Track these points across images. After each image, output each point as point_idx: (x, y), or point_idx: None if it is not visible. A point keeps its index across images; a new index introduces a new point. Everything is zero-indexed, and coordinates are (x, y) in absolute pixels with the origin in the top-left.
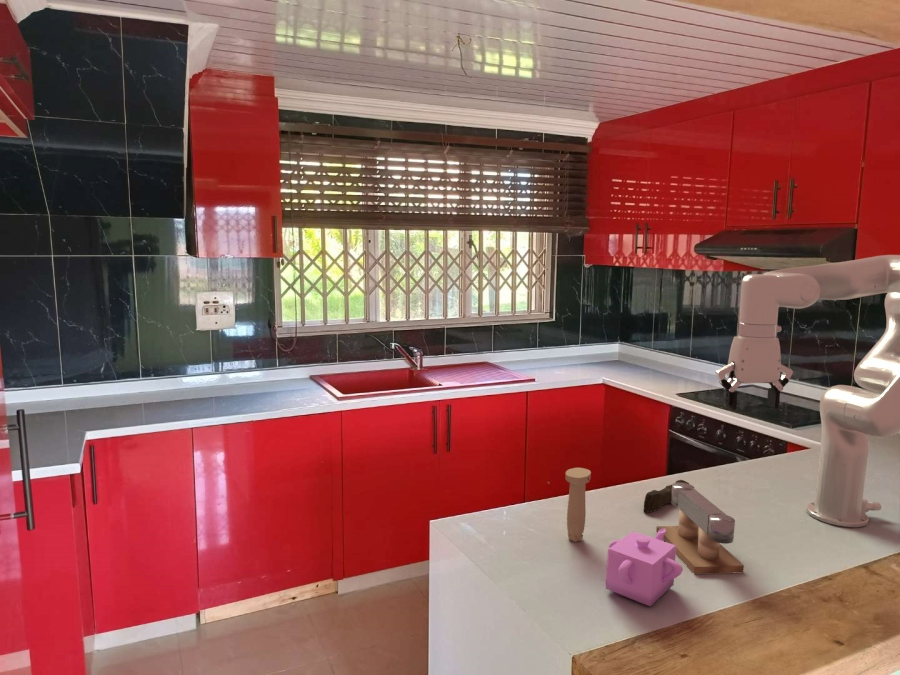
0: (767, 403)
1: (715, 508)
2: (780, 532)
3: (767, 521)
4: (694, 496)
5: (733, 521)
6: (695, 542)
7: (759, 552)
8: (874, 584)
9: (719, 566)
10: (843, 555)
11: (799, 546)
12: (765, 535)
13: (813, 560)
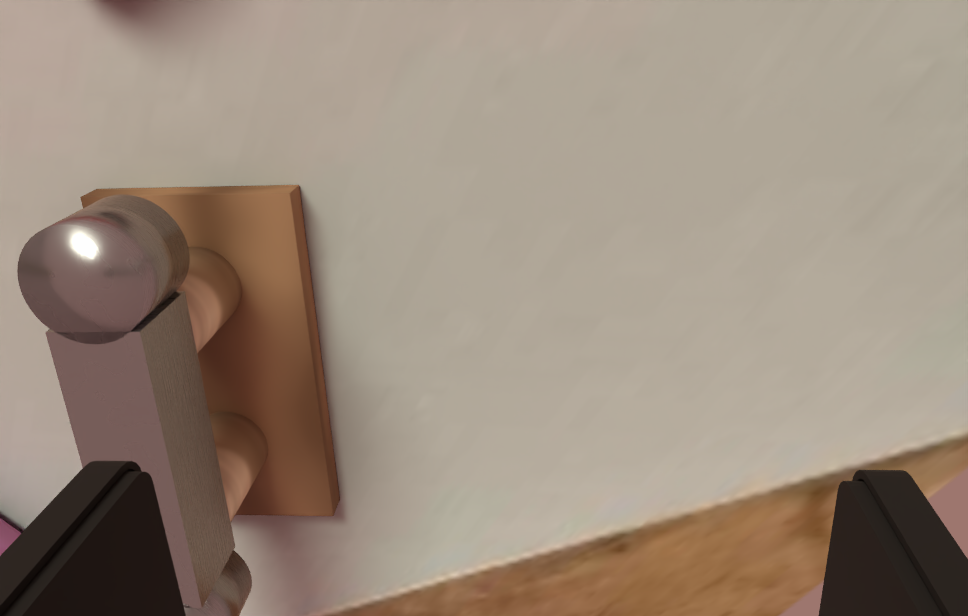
0: (849, 504)
1: (174, 554)
2: (689, 204)
3: (707, 77)
4: (109, 424)
5: None
6: (214, 350)
7: (477, 373)
8: (747, 586)
9: (244, 514)
10: (810, 413)
11: (681, 336)
12: (595, 232)
13: (655, 440)
